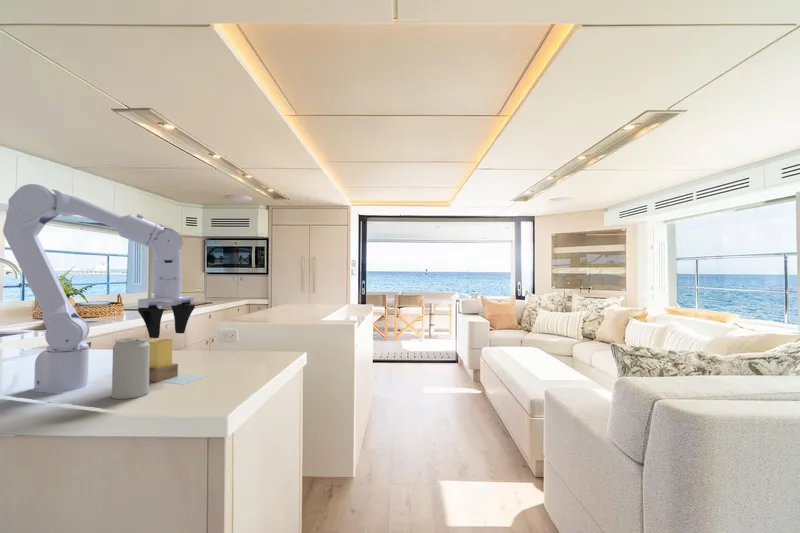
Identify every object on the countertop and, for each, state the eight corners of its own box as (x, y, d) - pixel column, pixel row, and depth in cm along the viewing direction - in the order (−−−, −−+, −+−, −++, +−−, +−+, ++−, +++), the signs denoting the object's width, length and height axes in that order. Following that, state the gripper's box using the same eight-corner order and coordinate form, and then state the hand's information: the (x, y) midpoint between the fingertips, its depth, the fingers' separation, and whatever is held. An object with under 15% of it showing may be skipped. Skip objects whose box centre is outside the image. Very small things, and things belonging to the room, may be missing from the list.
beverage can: (121, 404, 80) (122, 342, 81) (105, 398, 84) (107, 339, 84) (154, 396, 86) (156, 338, 86) (139, 391, 89) (140, 335, 89)
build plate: (141, 382, 96) (141, 380, 96) (169, 374, 104) (169, 372, 104) (183, 386, 93) (183, 384, 93) (209, 378, 101) (209, 375, 101)
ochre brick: (144, 366, 97) (144, 341, 97) (158, 363, 101) (159, 338, 101) (157, 368, 96) (158, 342, 96) (171, 364, 99) (172, 339, 100)
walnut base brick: (136, 380, 96) (136, 367, 96) (157, 374, 102) (158, 362, 102) (156, 382, 94) (157, 369, 94) (177, 376, 100) (177, 363, 100)
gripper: (155, 279, 92) (155, 340, 92) (203, 278, 106) (203, 331, 106) (131, 279, 94) (130, 339, 94) (181, 278, 108) (181, 330, 108)
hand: (167, 335), depth 100 cm, fingers open, 7 cm apart
